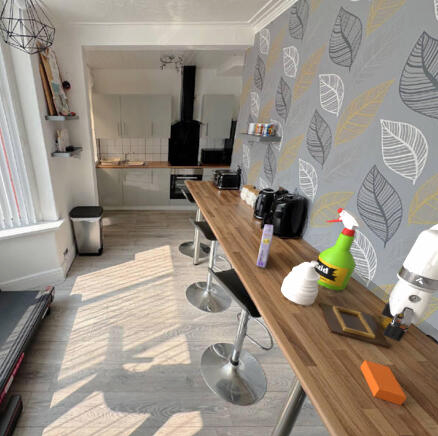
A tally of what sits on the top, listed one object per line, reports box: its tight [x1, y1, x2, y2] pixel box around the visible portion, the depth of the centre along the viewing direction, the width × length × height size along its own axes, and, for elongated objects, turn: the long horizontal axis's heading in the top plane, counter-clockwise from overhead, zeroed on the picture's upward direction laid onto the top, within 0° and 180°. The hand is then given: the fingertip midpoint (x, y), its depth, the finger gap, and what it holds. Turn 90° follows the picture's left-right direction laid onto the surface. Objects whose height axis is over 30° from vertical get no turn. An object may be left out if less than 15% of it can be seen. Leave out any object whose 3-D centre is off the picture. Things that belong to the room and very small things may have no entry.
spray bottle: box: [314, 207, 365, 291], centre depth 108 cm, size 14×18×35 cm
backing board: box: [319, 302, 391, 349], centre depth 89 cm, size 17×15×2 cm
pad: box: [360, 359, 408, 406], centre depth 68 cm, size 6×9×4 cm, turn 159°
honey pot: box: [280, 260, 320, 306], centre depth 100 cm, size 13×13×18 cm
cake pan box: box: [255, 224, 274, 269], centre depth 126 cm, size 19×5×18 cm, turn 152°
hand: (389, 326), depth 66 cm, fingers open, 9 cm apart
